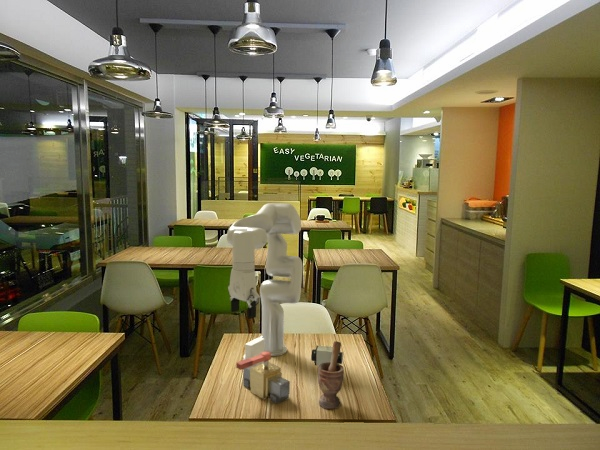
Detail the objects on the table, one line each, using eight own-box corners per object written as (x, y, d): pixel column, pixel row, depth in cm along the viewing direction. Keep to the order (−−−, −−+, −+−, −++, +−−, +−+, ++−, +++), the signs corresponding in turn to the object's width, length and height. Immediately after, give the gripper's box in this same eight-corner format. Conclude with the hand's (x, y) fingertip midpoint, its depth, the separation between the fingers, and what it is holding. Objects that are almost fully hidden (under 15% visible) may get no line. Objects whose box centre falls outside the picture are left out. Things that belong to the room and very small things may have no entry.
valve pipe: (239, 385, 166) (239, 353, 165) (256, 378, 172) (256, 347, 170) (275, 406, 152) (276, 371, 150) (292, 398, 158) (293, 364, 156)
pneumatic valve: (341, 380, 172) (342, 349, 170) (310, 376, 174) (311, 346, 173) (342, 373, 177) (343, 344, 176) (313, 370, 180) (313, 341, 178)
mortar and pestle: (317, 392, 162) (318, 338, 159) (341, 393, 162) (343, 339, 159) (317, 409, 150) (318, 352, 148) (343, 410, 150) (345, 353, 148)
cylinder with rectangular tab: (256, 377, 173) (257, 347, 171) (238, 371, 177) (238, 342, 176) (270, 369, 180) (271, 340, 179) (252, 363, 185) (252, 335, 183)
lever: (266, 355, 163) (266, 350, 163) (273, 358, 160) (273, 353, 160) (235, 367, 153) (235, 361, 153) (241, 370, 151) (241, 364, 150)
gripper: (220, 263, 159) (220, 310, 161) (249, 272, 146) (249, 323, 148) (238, 260, 164) (237, 306, 166) (267, 269, 151) (267, 318, 153)
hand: (243, 314), depth 157 cm, fingers open, 9 cm apart
